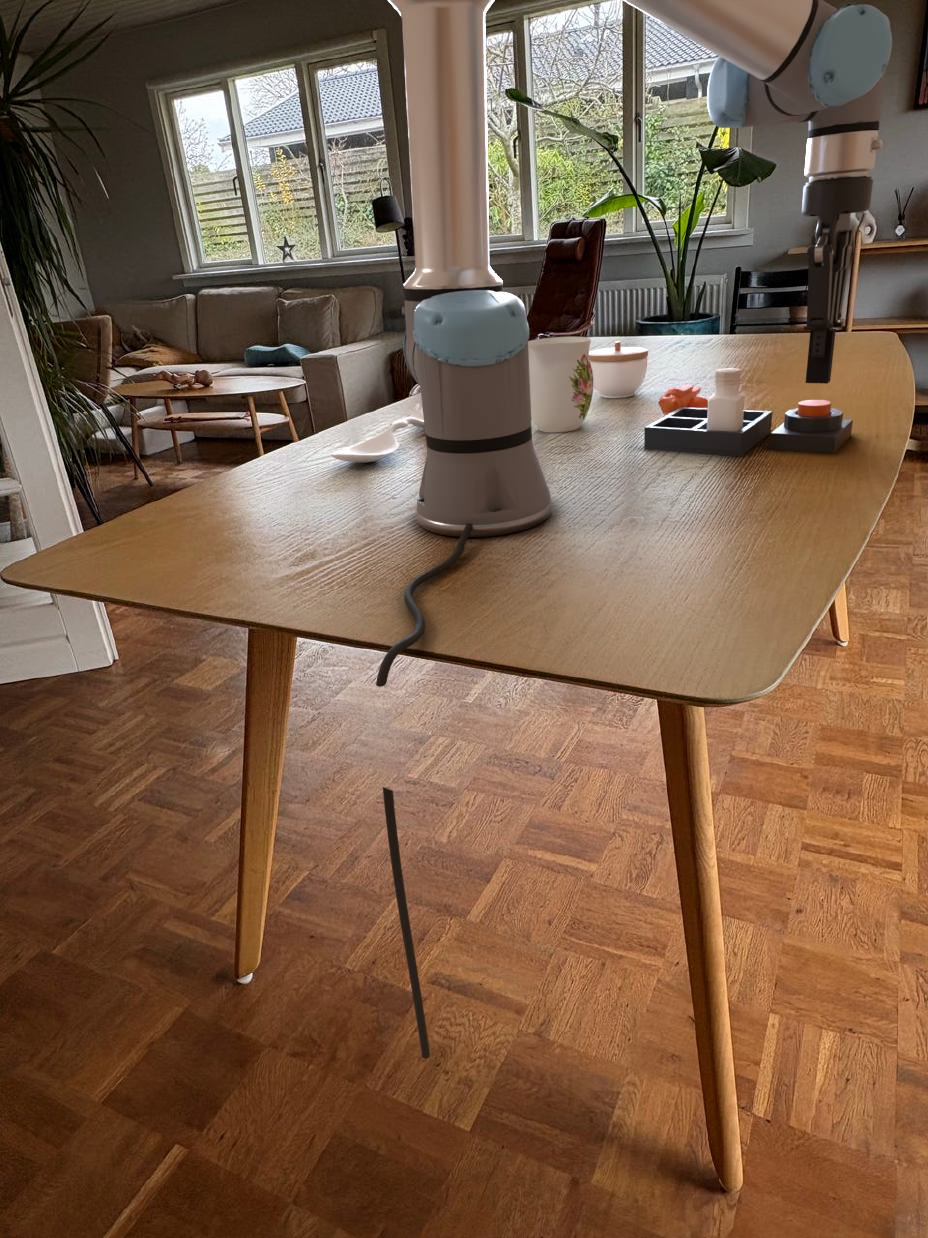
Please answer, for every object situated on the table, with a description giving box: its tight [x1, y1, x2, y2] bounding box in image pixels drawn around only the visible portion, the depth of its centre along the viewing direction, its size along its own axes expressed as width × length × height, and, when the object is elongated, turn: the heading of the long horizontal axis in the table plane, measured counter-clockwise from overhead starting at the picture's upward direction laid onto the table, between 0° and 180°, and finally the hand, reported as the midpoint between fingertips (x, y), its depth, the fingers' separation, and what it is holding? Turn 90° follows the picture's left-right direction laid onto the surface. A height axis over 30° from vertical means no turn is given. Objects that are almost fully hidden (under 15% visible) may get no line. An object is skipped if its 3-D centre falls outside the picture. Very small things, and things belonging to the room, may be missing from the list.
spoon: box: [330, 403, 425, 464], centre depth 127 cm, size 9×32×4 cm, turn 157°
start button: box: [797, 399, 832, 417], centre depth 107 cm, size 4×4×2 cm
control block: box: [768, 407, 854, 455], centre depth 108 cm, size 10×8×4 cm
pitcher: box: [528, 336, 594, 433], centre depth 126 cm, size 11×18×14 cm, turn 149°
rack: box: [643, 407, 773, 458], centre depth 113 cm, size 13×13×3 cm
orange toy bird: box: [657, 382, 708, 416], centre depth 126 cm, size 5×8×12 cm
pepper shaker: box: [707, 367, 746, 432], centre depth 107 cm, size 4×4×10 cm
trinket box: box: [588, 340, 649, 399], centre depth 146 cm, size 11×11×9 cm
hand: (817, 381), depth 105 cm, fingers closed
